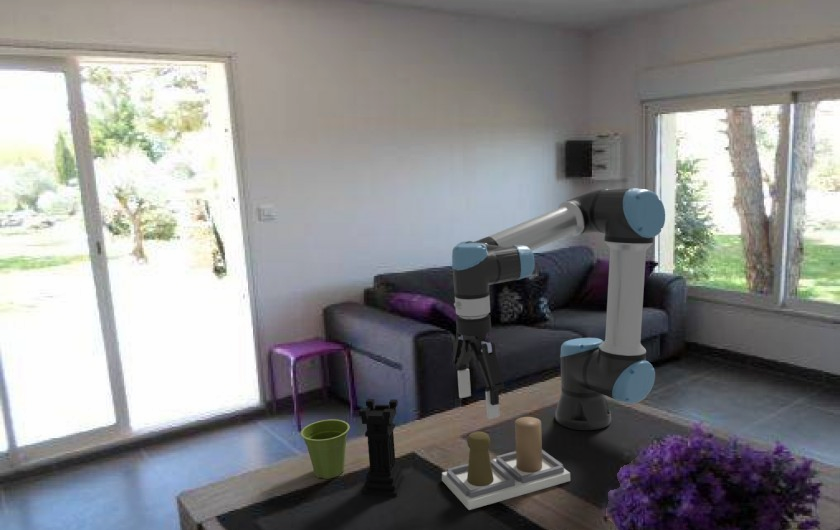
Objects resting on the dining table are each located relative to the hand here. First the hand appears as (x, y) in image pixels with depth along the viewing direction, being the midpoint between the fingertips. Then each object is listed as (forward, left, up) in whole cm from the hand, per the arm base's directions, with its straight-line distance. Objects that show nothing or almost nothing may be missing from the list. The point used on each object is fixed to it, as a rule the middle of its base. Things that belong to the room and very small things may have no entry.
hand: (478, 406), depth 137 cm
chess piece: (+20, -11, -20) cm, 30 cm away
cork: (0, 0, -18) cm, 18 cm away
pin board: (-6, 0, -19) cm, 20 cm away
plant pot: (+30, -24, -20) cm, 43 cm away
